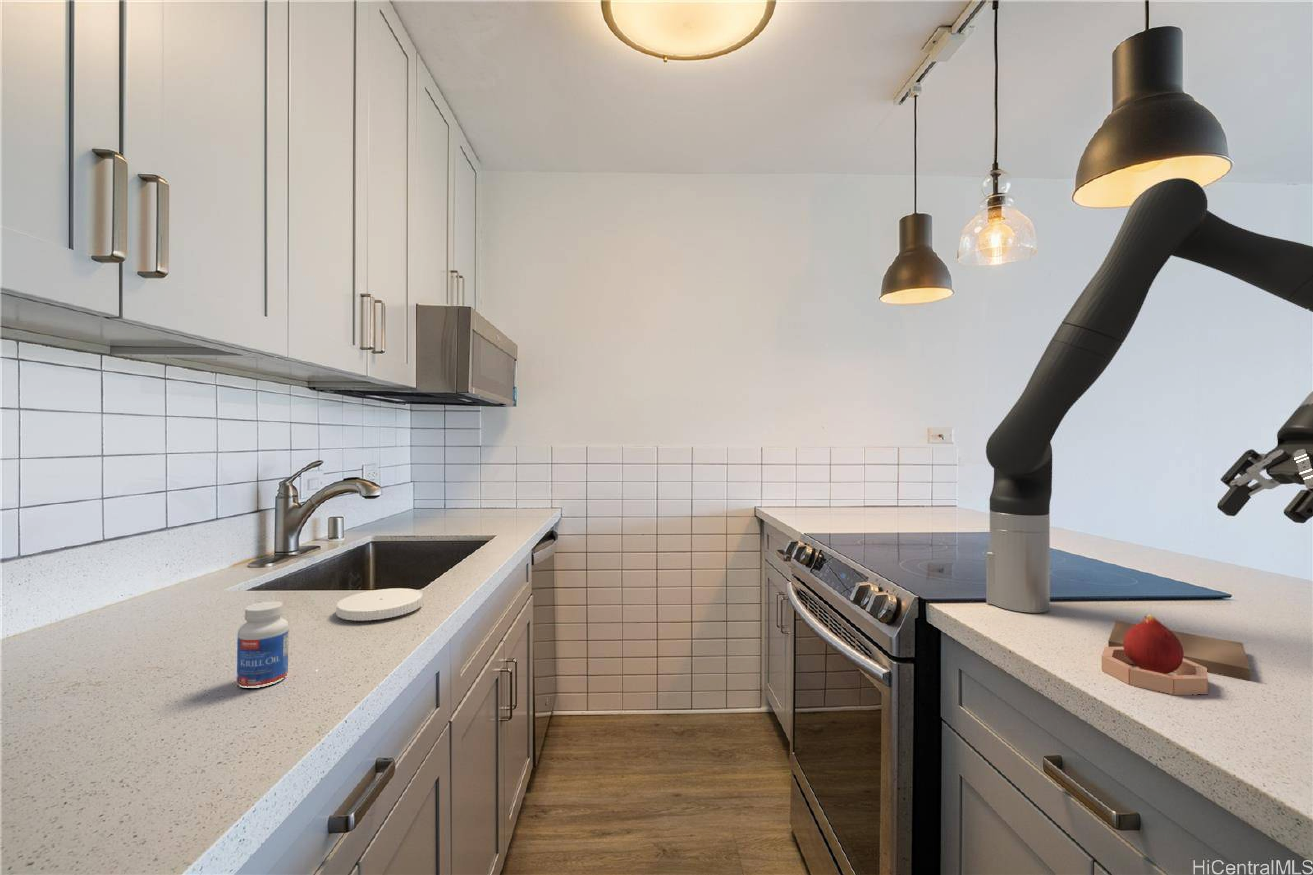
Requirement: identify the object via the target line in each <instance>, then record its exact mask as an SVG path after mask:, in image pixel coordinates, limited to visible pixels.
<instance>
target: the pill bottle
mask: <svg viewBox="0 0 1313 875" xmlns="http://www.w3.org/2000/svg"><path fill="white" fill-rule="evenodd" d="M283 613H284V604H283V602H281V601H264V602H258V603H254V604H250V605H248V606H246V607H245V609H244V620H245V621H246V623H243V624H242V625H240V627H239V628H238V630H237V643H236V644H237V645H236V646H237V647H236V649H237V651H236V654H237V656H236V685H237V684H239V685H241V686H247V687H248V686H257V685H263V684H267V683H270V682H275V681H277V680H279V679H281V678H284V677H285V676H286V675H287V673H288V674H289V642H290V641H289V638H290V636H289V635H290V634H289V633H290V632H289V631H290V630H289V625H290V624H289V622H288V620H287V619H285V618H283V617H281V616H282V615H283ZM287 676H288V675H287Z"/></svg>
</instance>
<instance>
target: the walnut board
mask: <svg viewBox="0 0 1313 875" xmlns="http://www.w3.org/2000/svg"><path fill="white" fill-rule="evenodd" d="M1136 624H1137V623H1132V622H1126V621H1122V620H1114V624H1113V627H1112V630H1111V633H1110V635H1109V638H1108V642H1107V643H1108V644H1107V645H1108V646H1107V647H1124V646H1123V640H1124V636H1125V634H1126V632H1127V631H1128V630H1129V629H1130V628H1131V627H1132V626H1134V625H1136ZM1169 630H1170V631H1172V632H1173V633H1174V634H1175V636H1176V637H1177V638H1178V640H1179V641H1180V643H1181V645H1182V647H1183V652H1184V656H1183V658H1184V659H1187V660H1189V661H1192V662H1194V663H1196V664H1199V665H1201V666H1204V667H1206V668H1207V671H1208V672H1207V673H1211V672H1212V673H1211V674H1216V673H1218V674H1217V675H1220V674H1223V675H1222V676H1225V675H1227V676H1226V677H1230V676H1232V678H1235V679H1240V678H1242V679H1241V680H1244V679H1246V680H1245V681H1250V680H1251V668H1250V664H1249V661H1248V658H1247V653H1246V650H1245V646H1244V643H1243V642H1239V641H1232V640H1228V639H1221V638H1216V637H1211V636H1205V635H1200V634H1194V633H1193V634H1192V633H1188V632H1182V631H1177V630H1171V629H1169Z"/></svg>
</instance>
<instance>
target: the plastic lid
mask: <svg viewBox="0 0 1313 875" xmlns="http://www.w3.org/2000/svg"><path fill="white" fill-rule="evenodd" d="M423 605H424V593H423V592H422V591H421V590H417V589H414V588H413V589H412V588H400V587H397V588H396V587H395V588H386V589H385V588H382V589H373V590H368V591H363V592H360V593H359V592H358V593H355V594H352V595H349V596H346V597H343V598H342V599H340V600H339V601H337V603H336V606H335V612H336V614H335V615H336V616H337V618H341V619H343V620H346V621H347V620H348V621H355V622H356V621H362V622H363V621H372V620H374V621H375V620H384V619H389V618H390V619H391V618H395V617H398V616H403V615H406V614H409V613H412V612H414V611H416V610H418V609H419V608H421V607H422V606H423Z"/></svg>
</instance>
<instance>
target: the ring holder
mask: <svg viewBox="0 0 1313 875" xmlns="http://www.w3.org/2000/svg"><path fill="white" fill-rule="evenodd" d="M1132 665H1135V664H1134V663H1133V662H1132V661H1131V660H1130V659H1129V658H1128V657H1127V655H1126V653H1125V651H1124V647H1108V646H1104V648H1103V651H1102V654H1101V671H1102V672H1104V673H1106V674H1107V675H1109V676H1112V677H1113V678H1115V679H1117V680H1119V681H1121V682H1122V683H1124V684H1127V685H1129V686H1133V687H1138V688H1142V689H1145V690H1150V691H1154V692H1158V691H1160V692H1159V693H1162V692H1165V693H1164V694H1166V693H1169V694H1168V695H1171V694H1174V695H1173V696H1198V695H1197V694H1208V695H1209V691H1208V690H1209V686H1208V685H1209V683H1208V682H1209V681H1208V680H1209V678H1208V672H1207V668H1206V667H1204V666H1201V665H1199V664H1196V663H1194V662H1192V661H1189V660H1187V659H1184V658H1183V661H1182V664H1181V665H1180V667H1179V668H1178V669H1177V670H1175V671H1173V672H1172V673H1173V674H1162V673H1158V672H1153V671H1149V670H1144V669H1140V668H1139V667H1134V666H1132ZM1178 674H1179V675H1178ZM1192 694H1193V695H1192Z"/></svg>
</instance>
